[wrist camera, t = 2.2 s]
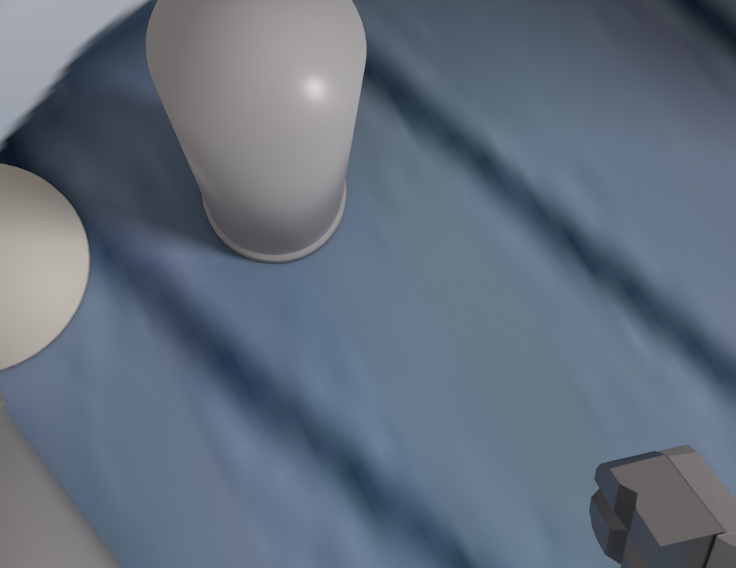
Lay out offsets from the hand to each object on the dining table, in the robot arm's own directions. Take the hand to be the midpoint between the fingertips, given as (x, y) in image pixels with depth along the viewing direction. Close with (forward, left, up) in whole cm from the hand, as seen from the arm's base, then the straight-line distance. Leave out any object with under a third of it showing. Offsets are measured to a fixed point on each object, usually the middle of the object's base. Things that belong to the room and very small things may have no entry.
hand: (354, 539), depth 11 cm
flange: (+8, -13, -15) cm, 21 cm away
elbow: (-4, -11, -15) cm, 19 cm away
